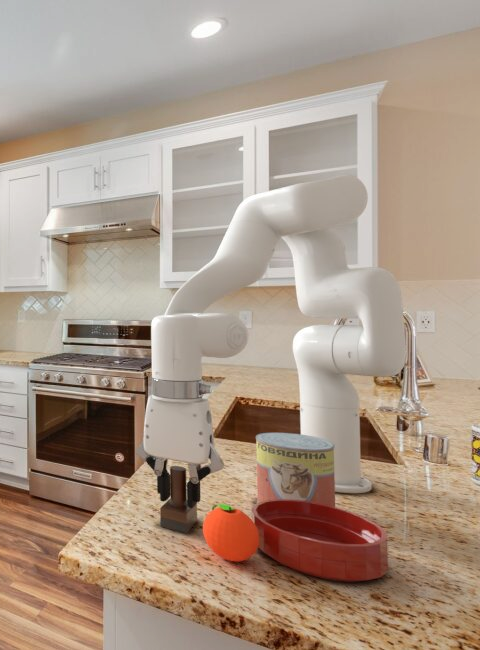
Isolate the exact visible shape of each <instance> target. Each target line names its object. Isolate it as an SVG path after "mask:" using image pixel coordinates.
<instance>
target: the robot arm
mask: <svg viewBox="0 0 480 650" xmlns="http://www.w3.org/2000/svg"><path fill="white" fill-rule="evenodd" d="M368 195H369V194H368V190H367V188H366V186H365V184H364V182H363V181H362V180H361V179H360V178H358V177H356V176H354V175H351V174H341V175H337V176H333V177H328V178H323V179H318V180H311V181H306V182H300V183H295V184H290V185H287V186H283V187H279V188H275V189H270V190H266V191H263V192H259V193H256V194H253V195H250V196H248V197H247V198H245V199H244V200H242V202H241V203H240V204H239V205H238V206H237V208H236V210H235V212H234V214H233V217H232V219H231V221H230V223H229V225H228V228H227V230H226V231H225V234H224V236H223V238H222V241H221V242H220V245H219V247H218V249H217V251H216V253H215V255H214V257H213V259H211V260H210V261H209V262H208V263H207V264H205V265H203V266H202V267H201V268H199V270H197V271H196V273H194V274H193V275H192V276H191V277H190V278H189V279H187V280H186V281H185V282H184V283H183V284H182V285H181V286H180V287H179V288H178V289H177V291H176V292H175V294H173V296H172V298H171V299H170V302H169V304H168V306H167V308H166V310H165V312H164V314H160V315H156V316H154V317H153V318H152V320H151V322H150V342H151V343H150V344H151V345H150V346H151V348H150V349H151V394H150V395H148V398H147V403H146V408H145V413H144V414H145V415H144V425H143V438H142V441H141V442H140V444H139V445H138V446H137V448H136V450H135V454H136V455H137V456H138V457H139V458H141V459H142V460H143V461H145V462H146V464H147V465H148V466H149V467H150V469H151V470H152V471H153V473H154V476H156V485H157V486H156V487H157V488H156V489H157V494H159V500H160V502H163V503H164V502H167V501H168V500H169V499H170V498H171V489H170V472H168V463H169V460H170V461H175V462H181V463H186V464H187V469H188V474H189V480H188V481H187V482H186V489H187V506H188V507H189V508H193V507H194V506H195V505H196V504H197V505H198V503H200V501H201V481H202V480H203V479H204V478H206V477H207V476H209V475H210V474H213V473H214V474H215V473H216V472H219V471H222V470H223V469H224V468H225V466H226V465H225V463H224V461H223V459H222V458H221V456H220V454H219V453H218V451H217V450H216V448H215V434H214V424H213V419H212V412H211V407H210V403H209V400H208V399H207V398H203V397H204V396H205V395H207V394H208V395H212V393H213V386H212V385H210V384H206V383H205V382H204V380H203V372H202V371H203V369H202V366H203V365H202V363H203V361H202V358H203V357H204V358H214V359H215V358H216V359H227V358H231V357H235V356H238V354H240V353H241V352H243V350H244V349H245V348H246V346H247V344H248V342H249V330H248V328H247V325H246V324H245V322H244V321H243V320H242V319H240V318H239V317H238V316H235V315H234V314H230V313H227V312H205V311H206V310H207V309H208V308H209V307H210V306H211V305H213V304H215V303H216V302H217V301H219V300H220V299H223V298H224V297H226V296H229V295H231V294H233V293H236V292H238V291H241V290H243V289H245V288H247V287H248V286H251V285H253V284H255V283H257V282H259V281H260V280H261V279H262V278H264V276H265V274H266V272H267V270H268V267H269V265H270V262H271V260H272V257H273V255H274V252H275V251H276V249H277V246H278V243H279V242H280V239H282V240H283V241H284V242H285V244H286V245H287V246H288V248H289V250H290V253H291V257H292V262H293V263H292V264H293V272H294V283H295V292H296V293H295V294H296V300H297V306H298V308H299V311H300V312H301V313H302V314H303V315H304V316H306V317H308V318H314V319H359V320H360V321H361V325H360V324H359V325H358V324H314V325H309V326H306V327H303V328H302V329H300V330H299V331H297V332H296V334H295V335H294V337H293V340H292V354H293V359H294V361H295V365H296V366H295V367H296V370H297V376H298V377H297V378H298V383H299V384H298V385H299V386H298V388H299V424H300V434H301V435H307V436H313V437H317V438H321V439H324V440H327V441H330V442H331V443H333V444H334V446H335V447H334V476H335V493H344V494H365V493H368V492H370V491H372V489H373V485H372V482H371V480H369V479H368V478H366V477H364V476H362V463H361V461H362V460H361V420H360V419H361V418H360V415H361V414H360V398H359V394H358V392H357V389H356V388H355V386H354V385H353V383H352V382H351V381H350V379H349V377H348V376H347V375H352V376H363V377H364V376H365V377H375V378H387V377H388V378H390V377H393V376H396V375H398V374H399V373H400V372H401V371H402V370H403V368H404V366H405V364H406V359H407V344H406V333H405V331H406V330H405V321H404V311H403V310H404V309H403V298H402V292H401V287H400V284H399V282H398V280H397V278H396V276H394V274H393V273H392V272H390V271H389V270H387V269H385V268H381V267H378V266H377V267H373V266H368V267H367V266H366V267H355V268H349V266H348V263H347V255H346V248H345V247H346V246H345V243H344V241H343V239H342V238H341V236H340V235H339V234H338V233H337V232H336V231H335V230H334V229H332V228H334V227H337V226H341V225H345V224H348V223H352V222H354V221H355V220H357V219H358V218H359V217H361V215H362V214H363V213H364V212H365V210H366V208H367V205H368V199H369V197H368ZM209 461H210V463H209V464H207V463H208V462H209ZM202 465H203V467H202Z"/></svg>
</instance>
